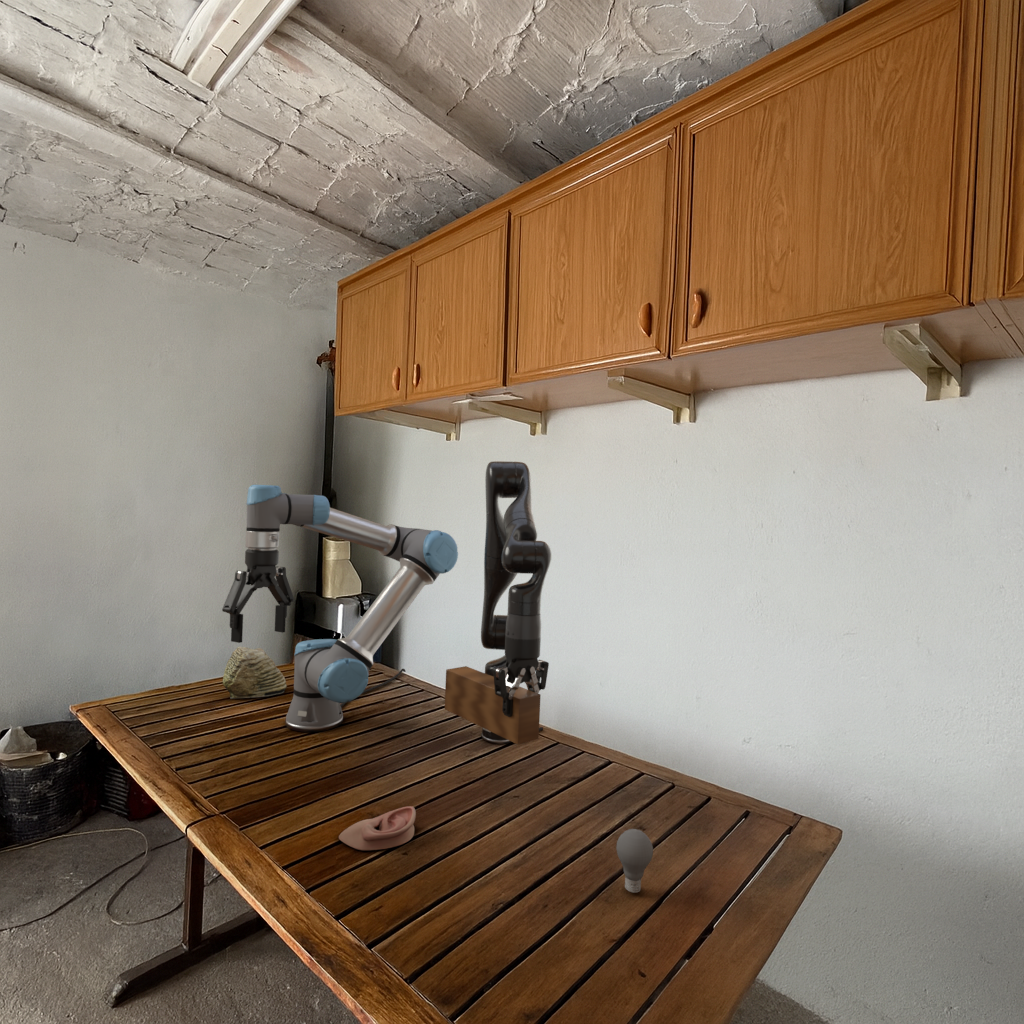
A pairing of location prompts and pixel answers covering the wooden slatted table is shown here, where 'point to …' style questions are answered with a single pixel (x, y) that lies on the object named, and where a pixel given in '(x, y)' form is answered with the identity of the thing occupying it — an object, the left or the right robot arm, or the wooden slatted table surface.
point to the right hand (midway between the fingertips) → (519, 712)
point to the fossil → (252, 674)
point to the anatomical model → (381, 830)
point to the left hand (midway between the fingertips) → (259, 636)
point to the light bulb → (634, 857)
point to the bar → (492, 705)
